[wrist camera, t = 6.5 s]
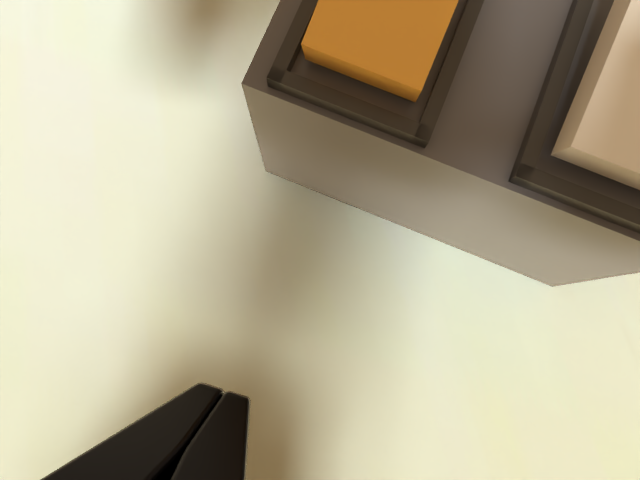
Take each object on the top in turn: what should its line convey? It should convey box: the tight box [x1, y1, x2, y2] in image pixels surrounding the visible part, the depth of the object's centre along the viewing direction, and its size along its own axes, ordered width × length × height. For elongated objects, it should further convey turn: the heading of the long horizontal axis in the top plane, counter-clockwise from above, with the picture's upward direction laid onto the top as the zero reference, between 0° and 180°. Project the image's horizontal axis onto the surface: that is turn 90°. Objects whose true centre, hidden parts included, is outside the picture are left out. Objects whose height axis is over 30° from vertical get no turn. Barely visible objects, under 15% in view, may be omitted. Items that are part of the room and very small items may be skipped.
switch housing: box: [242, 0, 640, 286], centre depth 18 cm, size 8×13×8 cm, turn 68°
